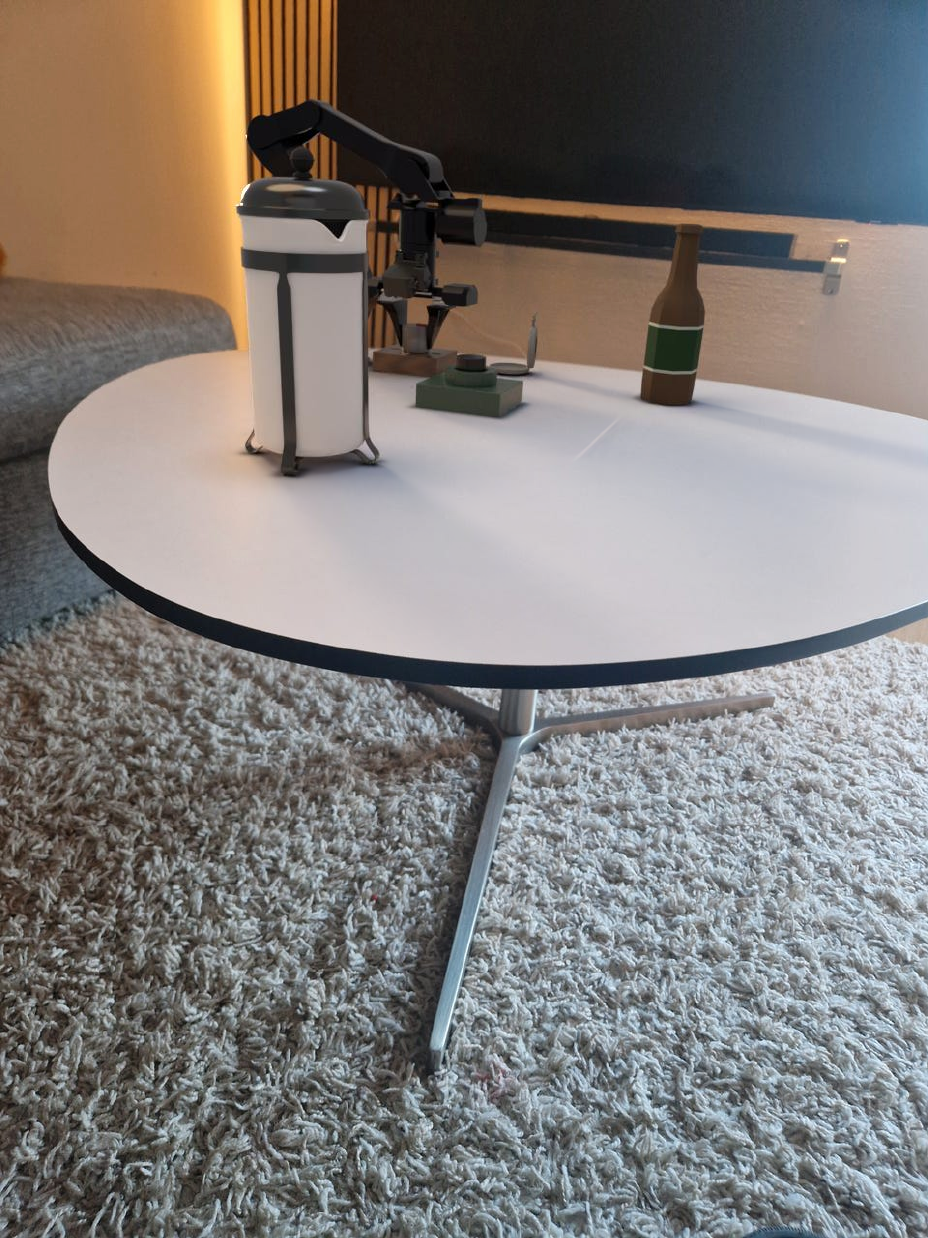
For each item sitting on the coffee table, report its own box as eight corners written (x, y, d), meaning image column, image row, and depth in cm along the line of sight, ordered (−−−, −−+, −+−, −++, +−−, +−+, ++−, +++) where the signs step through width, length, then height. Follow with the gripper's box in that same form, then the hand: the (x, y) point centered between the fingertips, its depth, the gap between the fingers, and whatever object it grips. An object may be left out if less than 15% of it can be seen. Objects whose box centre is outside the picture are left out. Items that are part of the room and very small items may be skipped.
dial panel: (373, 370, 144) (372, 350, 143) (396, 362, 152) (396, 343, 150) (436, 378, 141) (436, 357, 139) (456, 369, 148) (457, 349, 147)
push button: (452, 372, 121) (452, 356, 120) (462, 367, 124) (463, 352, 124) (479, 375, 120) (480, 359, 119) (489, 370, 123) (490, 355, 122)
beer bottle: (688, 396, 136) (714, 224, 126) (695, 407, 129) (723, 226, 119) (637, 393, 137) (658, 221, 126) (641, 404, 130) (664, 223, 119)
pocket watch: (482, 369, 149) (485, 306, 145) (526, 367, 153) (530, 305, 148) (504, 378, 143) (508, 312, 138) (550, 376, 146) (555, 312, 142)
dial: (397, 351, 144) (398, 323, 142) (409, 347, 147) (409, 320, 146) (422, 354, 142) (423, 325, 141) (433, 350, 146) (434, 322, 144)
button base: (415, 407, 122) (416, 369, 120) (443, 394, 130) (444, 358, 128) (498, 418, 118) (500, 379, 116) (521, 403, 126) (524, 367, 124)
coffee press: (402, 446, 103) (405, 153, 90) (350, 484, 89) (345, 144, 76) (265, 430, 107) (250, 147, 94) (194, 464, 93) (164, 138, 80)
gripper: (339, 241, 134) (340, 348, 141) (454, 249, 128) (450, 361, 135) (372, 239, 143) (372, 339, 150) (481, 246, 138) (476, 351, 144)
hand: (415, 347), depth 145 cm, fingers closed on dial, 4 cm apart
